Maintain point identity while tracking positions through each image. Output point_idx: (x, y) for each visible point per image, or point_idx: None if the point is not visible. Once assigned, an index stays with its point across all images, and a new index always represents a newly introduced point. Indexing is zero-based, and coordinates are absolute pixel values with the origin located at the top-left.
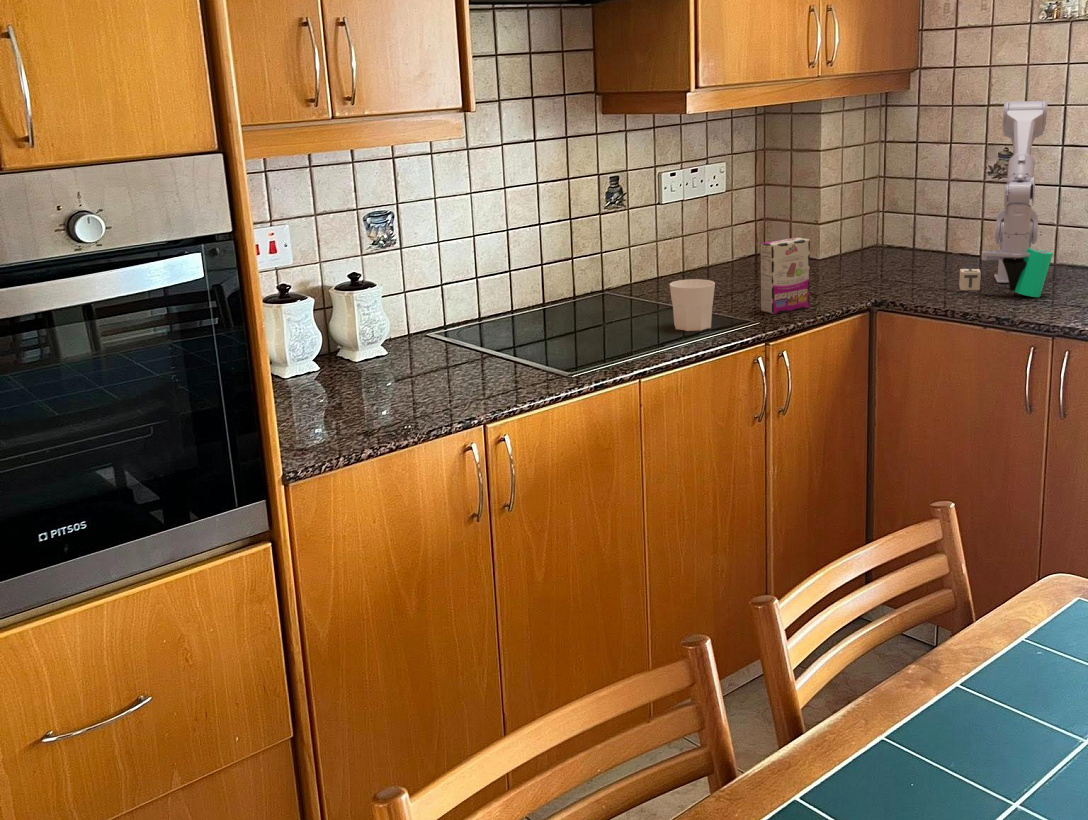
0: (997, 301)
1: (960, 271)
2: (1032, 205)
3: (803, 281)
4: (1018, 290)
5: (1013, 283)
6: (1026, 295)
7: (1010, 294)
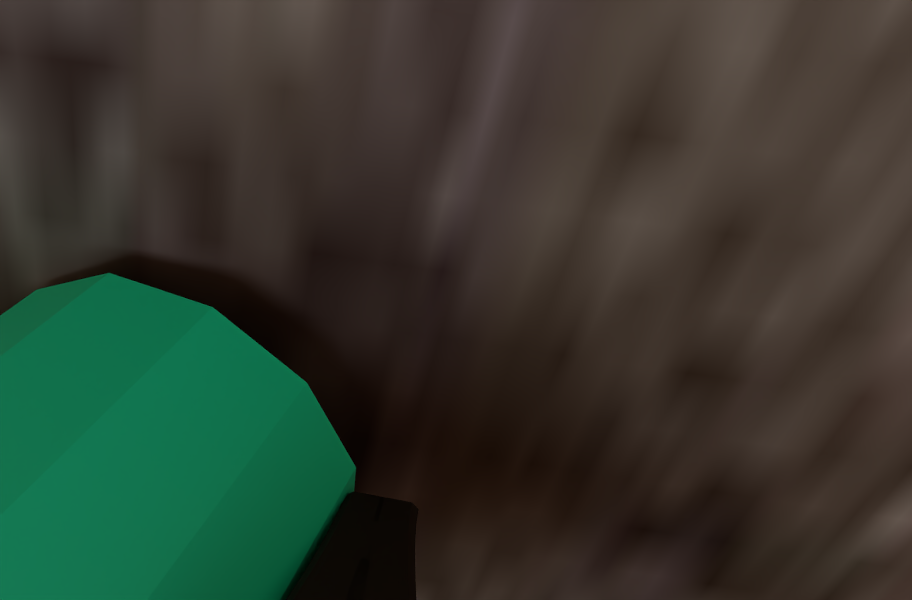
0: (755, 163)
1: None
2: None
3: None
4: (294, 436)
5: (351, 595)
6: (187, 299)
7: None
